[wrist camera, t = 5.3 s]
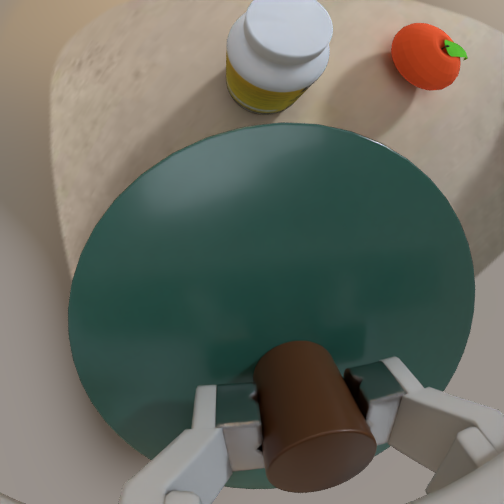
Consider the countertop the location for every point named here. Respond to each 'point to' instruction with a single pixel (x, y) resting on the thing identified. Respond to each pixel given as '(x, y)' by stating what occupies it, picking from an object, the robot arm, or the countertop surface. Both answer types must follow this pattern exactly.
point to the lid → (270, 293)
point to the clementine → (426, 56)
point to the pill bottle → (276, 53)
